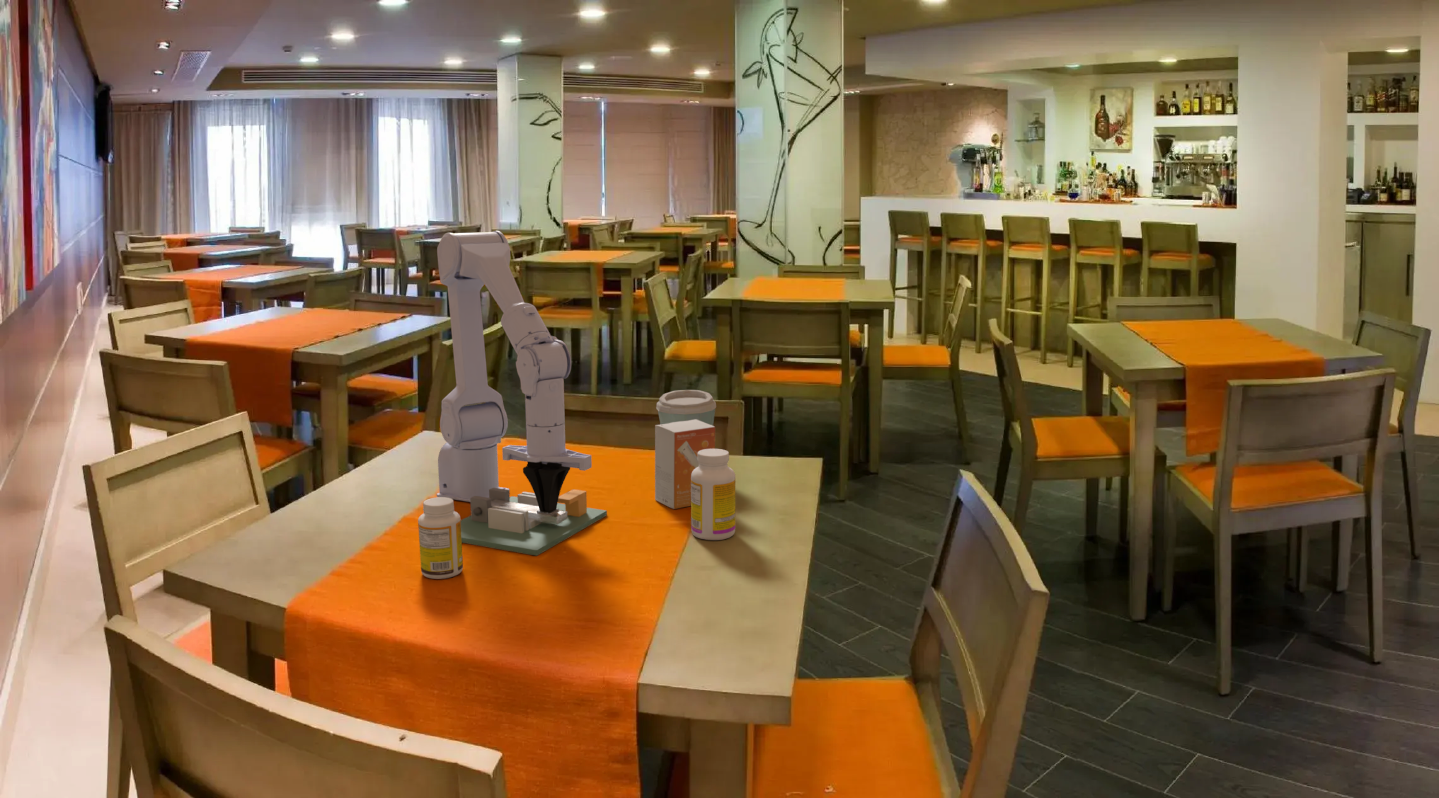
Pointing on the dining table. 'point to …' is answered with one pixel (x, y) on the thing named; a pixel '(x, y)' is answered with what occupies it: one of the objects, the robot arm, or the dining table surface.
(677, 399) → the disposable coffee cup
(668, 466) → the small box
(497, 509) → the socket base
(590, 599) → the dining table surface
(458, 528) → the supplement bottle
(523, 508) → the white stepped bar
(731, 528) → the supplement bottle
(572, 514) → the lug slider
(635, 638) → the dining table surface
